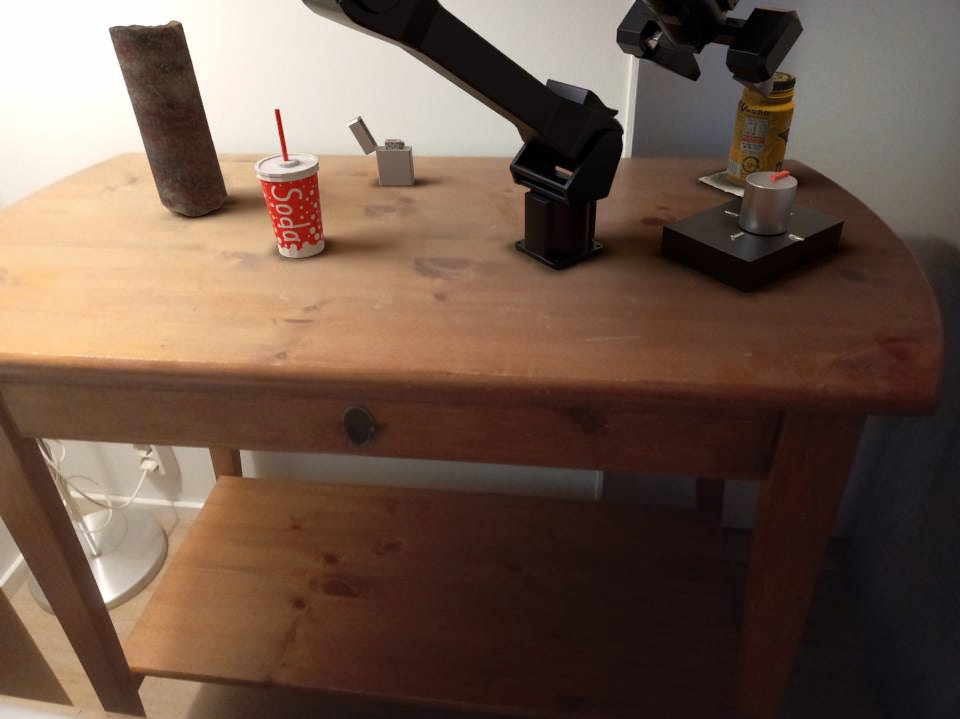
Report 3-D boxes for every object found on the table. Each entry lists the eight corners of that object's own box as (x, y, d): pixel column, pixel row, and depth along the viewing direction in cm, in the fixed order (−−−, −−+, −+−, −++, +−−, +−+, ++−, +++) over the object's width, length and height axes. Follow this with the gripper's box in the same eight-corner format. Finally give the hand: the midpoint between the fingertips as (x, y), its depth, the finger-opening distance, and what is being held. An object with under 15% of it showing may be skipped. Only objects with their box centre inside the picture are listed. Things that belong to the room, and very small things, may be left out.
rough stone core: (147, 213, 85) (91, 26, 74) (190, 191, 91) (144, 13, 80) (201, 221, 83) (150, 28, 72) (241, 198, 88) (200, 16, 77)
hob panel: (747, 293, 65) (753, 261, 63) (659, 254, 72) (663, 224, 70) (840, 250, 72) (848, 219, 70) (751, 217, 79) (757, 189, 77)
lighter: (414, 180, 91) (409, 114, 87) (412, 185, 90) (406, 118, 86) (358, 180, 92) (350, 115, 88) (355, 185, 91) (346, 119, 86)
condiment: (795, 183, 87) (818, 76, 80) (746, 199, 83) (766, 89, 76) (745, 166, 92) (762, 64, 85) (697, 181, 88) (711, 76, 81)
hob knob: (767, 239, 67) (778, 188, 64) (728, 224, 70) (736, 175, 67) (797, 227, 69) (808, 177, 66) (758, 212, 72) (767, 164, 70)
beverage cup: (259, 257, 75) (229, 116, 67) (292, 232, 79) (267, 99, 72) (312, 264, 73) (287, 121, 65) (342, 239, 77) (322, 102, 70)
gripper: (814, -97, 60) (858, 31, 71) (645, -99, 73) (705, 9, 84) (735, 22, 61) (791, 129, 72) (581, -1, 73) (650, 93, 85)
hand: (731, 85), depth 78 cm, fingers open, 9 cm apart
